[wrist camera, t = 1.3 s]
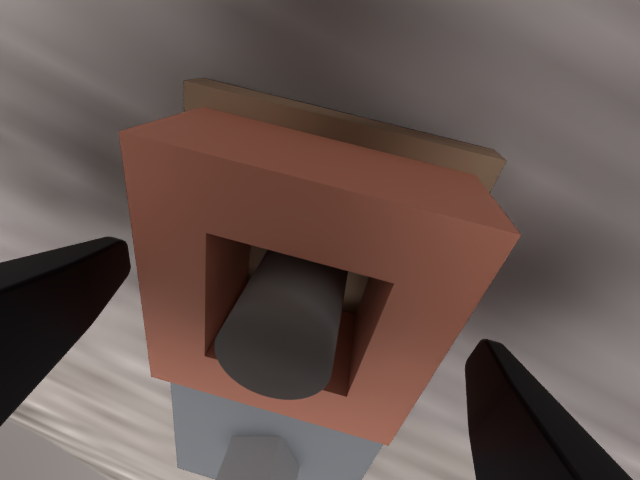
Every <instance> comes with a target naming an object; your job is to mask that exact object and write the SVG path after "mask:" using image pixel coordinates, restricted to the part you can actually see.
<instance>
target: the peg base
mask: <svg viewBox="0 0 640 480" xmlns="http://www.w3.org/2000/svg"><path fill="white" fill-rule="evenodd" d="M171 394H172V406H173V418H174V431H175V443H176V455H177V467H178V468H180V469H183V470H186V471H189V472H193V473H196V474H199V475H203V476H206V477H209V478H213V479H216V480H362V478H363V477H364V475H365V473H366V472H367V470H368V468H369V467H370V465H371V463H372V462H373V460H374V459H375V457H376V455H377V454H378V452H379V450H380V449H381V447H382V445H383V444H381V443H377V442H374V441H370V440H367V439H364V438H360V437H357V436H353V435H350V434H346V433H343V432H340V431H336V430H333V429H329V428H326V427H322V426H319V425H316V424H312V423H309V422H305V421H302V420H298V419H295V418H292V417H288V416H285V415H281V414H278V413H274V412H271V411H268V410H264V409H261V408H257V407H254V406H250V405H247V404H243V403H240V402H237V401H233V400H230V399H226V398H223V397H219V396H216V395H213V394H209V393H206V392H202V391H199V390H195V389H192V388H189V387H185V386H182V385H178V384H175V383H171Z"/></svg>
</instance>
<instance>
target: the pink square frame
mask: <svg viewBox="0 0 640 480" xmlns="http://www.w3.org/2000/svg"><path fill="white" fill-rule="evenodd" d="M119 138H120V145H121V153H122V160H123V168H124V176H125V183H126V191H127V198H128V206H129V213H130V221H131V228H132V236H133V243H134V251H135V258H136V266H137V273H138V281H139V288H140V296H141V303H142V311H143V318H144V326H145V333H146V341H147V348H148V356H149V363H150V371H151V377H154V378H158V379H161V380H165V381H168V382H171V383H175V384H178V385H182V386H185V387H189V388H192V389H195V390H199V391H202V392H206V393H209V394H213V395H216V396H219V397H223V398H226V399H230V400H233V401H237V402H240V403H243V404H247V405H250V406H254V407H257V408H261V409H264V410H268V411H271V412H274V413H278V414H281V415H285V416H288V417H292V418H295V419H298V420H302V421H305V422H309V423H312V424H316V425H319V426H322V427H326V428H329V429H333V430H336V431H340V432H343V433H346V434H350V435H353V436H357V437H360V438H364V439H367V440H370V441H374V442H377V443H381V444H384V445H388V446H389V444H390V443H391V441H392V440H393V438H394V436H395V435H396V433H397V432H398V430H399V429H400V427H401V425H402V424H403V422H404V421H405V419H406V417H407V416H408V414H409V413H410V411H411V409H412V408H413V406H414V405H415V403H416V402H417V400H418V398H419V397H420V395H421V394H422V392H423V390H424V389H425V387H426V386H427V384H428V382H429V381H430V379H431V378H432V376H433V374H434V373H435V371H436V370H437V368H438V367H439V365H440V363H441V362H442V360H443V359H444V357H445V355H446V354H447V352H448V351H449V349H450V347H451V346H452V344H453V343H454V341H455V340H456V338H457V336H458V335H459V333H460V332H461V330H462V328H463V327H464V325H465V324H466V322H467V320H468V319H469V317H470V316H471V314H472V313H473V311H474V309H475V308H476V306H477V305H478V303H479V301H480V300H481V298H482V297H483V295H484V293H485V292H486V290H487V289H488V287H489V285H490V284H491V282H492V281H493V279H494V278H495V276H496V274H497V273H498V271H499V270H500V268H501V266H502V265H503V263H504V262H505V260H506V258H507V257H508V255H509V254H510V252H511V251H512V249H513V247H514V246H515V244H516V243H517V241H518V239H519V238H520V236H521V234H520V232H519V231H518V230H517V229H516V227H515V226H514V225H513V223H512V222H511V221H510V219H509V218H508V217H507V215H506V214H505V213H504V211H503V210H502V209H501V208H500V206H499V205H498V204H497V202H496V201H495V200H494V198H493V197H492V196H491V194H490V193H489V192H488V190H487V189H486V188H485V187H484V185H483V184H482V183H481V181H480V180H479V179H478V177H477V176H476V175H473V174H469V173H465V172H461V171H457V170H453V169H449V168H445V167H441V166H437V165H433V164H429V163H425V162H421V161H417V160H413V159H409V158H405V157H401V156H397V155H393V154H389V153H385V152H381V151H377V150H373V149H369V148H365V147H361V146H357V145H353V144H349V143H345V142H341V141H337V140H333V139H329V138H325V137H321V136H317V135H313V134H309V133H305V132H301V131H297V130H293V129H289V128H285V127H281V126H277V125H273V124H269V123H265V122H261V121H257V120H253V119H249V118H245V117H241V116H237V115H233V114H229V113H225V112H221V111H217V110H213V109H209V108H205V107H200V108H197V109H193V110H190V111H187V112H183V113H180V114H176V115H173V116H169V117H166V118H163V119H159V120H156V121H152V122H149V123H145V124H142V125H139V126H135V127H132V128H128V129H125V130H121V131H119ZM251 245H253V246H256V247H260V248H264V249H268V250H271V251H275V252H279V253H283V254H286V255H290V256H294V257H297V258H301V259H305V260H309V261H312V262H316V263H320V264H323V265H327V266H331V267H335V268H338V269H342V270H346V271H350V272H353V273H357V274H361V275H364V276H368V277H369V279H368V282H367V284H366V287H365V290H364V293H363V295H362V298H361V301H360V304H359V306H358V309H357V312H356V315H355V314H351V313H348V312H344V311H342V313H341V319H340V325H339V331H338V337H337V343H336V350H335V356H334V362H333V368H332V374H331V378H330V380H329V382H328V384H327V385H326V387H325V388H324V389H323V390H322V391H320V392H319V393H317V394H315V395H313V396H311V397H307V398H303V399H297V400H282V399H275V398H270V397H266V396H263V395H260V394H257V393H255V392H252V391H250V390H248V389H246V388H245V387H243V386H241V385H240V384H238V383H237V382H236V381H234V380H233V379H232V378H231V377H230V376H229V375H228V374H227V373H226V372H225V371H224V369H223V368H222V367H221V365H220V364H219V362H218V360H217V357H216V354H215V346H214V345H215V339H216V337H217V335H218V333H219V331H220V329H221V328H222V326H223V324H224V323H225V321H226V319H227V318H228V316H229V314H230V313H231V311H232V309H233V308H234V306H235V304H236V302H237V301H238V299H239V297H240V296H241V294H242V292H243V291H244V289H245V287H246V286H247V278H248V268H249V258H250V249H251Z"/></svg>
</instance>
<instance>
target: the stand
mask: <svg viewBox="0 0 640 480" xmlns="http://www.w3.org/2000/svg"><path fill="white" fill-rule="evenodd" d="M183 86H184V112H187V111H190V110H193V109H197V108H200V107H205V108H209V109H213V110H217V111H221V112H225V113H229V114H233V115H237V116H241V117H245V118H249V119H253V120H257V121H261V122H265V123H269V124H273V125H277V126H281V127H285V128H289V129H293V130H297V131H301V132H305V133H309V134H313V135H317V136H321V137H325V138H329V139H333V140H337V141H341V142H345V143H349V144H353V145H357V146H361V147H365V148H369V149H373V150H377V151H381V152H385V153H389V154H393V155H397V156H401V157H405V158H409V159H413V160H417V161H421V162H425V163H429V164H433V165H437V166H441V167H445V168H449V169H453V170H457V171H461V172H465V173H469V174H473V175H476V176H477V177H478V179H479V180H480V181H481V183H482V184H483V185H484V187H485V188H486V189H487V190H488V192H489V193H490V191H491V190H492V188H493V186H494V184H495V182H496V180H497V178H498V176H499V174H500V172H501V171H502V169H503V167H504V165H505V163H506V161H507V160H505V159H504V158H503V157H502V156H501V155H500V154H498V153H497V152H496V151H495V150H493V149H489V148H485V147H481V146H477V145H473V144H469V143H465V142H461V141H457V140H453V139H449V138H444V137H440V136H436V135H432V134H428V133H424V132H420V131H416V130H412V129H408V128H404V127H400V126H396V125H392V124H388V123H384V122H380V121H375V120H371V119H367V118H363V117H359V116H355V115H351V114H347V113H343V112H339V111H335V110H331V109H327V108H323V107H319V106H315V105H311V104H307V103H302V102H298V101H294V100H290V99H286V98H282V97H278V96H274V95H270V94H266V93H262V92H258V91H254V90H250V89H246V88H242V87H238V86H233V85H229V84H225V83H221V82H217V81H213V80H209V79H205V78H199V79H192V80H184V81H183ZM368 279H369V277H368V276H364V275H361V274H357V273H353V272H350V271H346V270H342V269H338V268H335V267H331V266H327V265H323V264H320V263H316V262H312V261H309V260H305V259H301V258H297V257H294V256H290V255H286V254H283V253H279V252H275V251H271V250H268V249H264V248H260V247H256V246H253V245H251V249H250V258H249V268H248V278H247V286H246V287H245V289H244V291H243V292H242V294H241V296H240V297H239V299H238V301H237V302H236V304H235V306H234V308H233V309H232V311H231V313H230V314H229V316H228V318H227V319H226V321H225V323H224V324H223V326H222V328H221V329H220V331H219V333H218V335H217V337H216V339H215V345H214V346H215V354H216V357H217V360H218V362H219V364H220V365H221V367H222V368H223V369H224V371H225V372H226V373H227V374H228V375H229V376H230V377H231V378H232V379H233V380H234V381H236V382H237V383H238V384H240V385H241V386H243V387H245V388H246V389H248V390H250V391H252V392H255V393H257V394H260V395H263V396H266V397H270V398H275V399H282V400H297V399H303V398H307V397H311V396H313V395H315V394H317V393H319V392H320V391H322V390H323V389H324V388H325V387H326V385H327V384H328V382H329V380H330V378H331V374H332V368H333V362H334V356H335V350H336V343H337V337H338V331H339V325H340V319H341V313H342V311H344V312H348V313H351V314H355V315H356V312H357V309H358V306H359V304H360V301H361V298H362V295H363V293H364V290H365V287H366V284H367V282H368Z"/></svg>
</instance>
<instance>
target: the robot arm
mask: <svg viewBox="0 0 640 480" xmlns="http://www.w3.org/2000/svg"><path fill="white" fill-rule="evenodd" d="M130 268H131V265H130V258H129V251H128V245H127V243H126V242H125V241H124V240H121V239H118V238H114V237H103V238H99V239H95V240H91V241H87V242H83V243H79V244H75V245H71V246H67V247H62V248H58V249H54V250H50V251H46V252H42V253H38V254H34V255H30V256H26V257H22V258H18V259H14V260H10V261H6V262H1V263H0V426H1V425H2V424H3V423H4V422H5V421H6V420H7V419H8V418H9V416H10V415H11V414H12V413H13V412H14V411H15V410H16V409H17V408H18V406H19V405H20V404H21V403H22V402H23V401H24V400H25V399H26V397H27V396H28V395H29V394H30V393H31V392H32V391H33V390H34V389H35V387H36V386H37V385H38V384H39V383H40V382H41V381H42V380H43V379H44V377H45V376H46V375H47V374H48V373H49V372H50V371H51V370H52V369H53V367H54V366H55V365H56V364H57V363H58V362H59V361H60V360H61V359H62V357H63V356H64V355H65V354H66V353H67V352H68V351H69V350H70V349H71V347H72V346H73V345H74V344H75V343H76V342H77V341H78V340H79V339H80V337H81V336H82V335H83V334H84V333H85V332H86V331H87V329H88V328H89V327H90V326H91V325H92V323H93V322H94V321H95V320H96V318H97V317H98V316H99V314H100V313H101V312H102V310H103V309H104V308H105V306H106V305H107V304H108V302H109V301H110V299H111V298H112V297H113V295H114V294H115V293H116V291H117V290H118V289H119V287H120V286H121V284H122V283H123V282H124V280H125V279H126V278H127V276H128V274H129V272H130ZM465 378H466V396H467V414H468V428H469V437H470V444H471V450H472V456H473V463H474V469H475V475H476V480H633V479H632V478H631V477H630V476H629V475H628V474H627V473H626V472H625V471H624V470H623V469H622V468H621V467H620V466H619V465H618V464H617V463H616V462H615V461H614V460H613V459H612V458H611V456H610V455H609V454H608V453H607V452H606V451H605V450H604V449H603V448H602V447H601V446H600V445H599V444H598V443H597V442H596V441H595V440H594V439H593V438H592V437H591V436H590V435H589V434H588V433H587V431H586V430H585V429H584V428H583V427H582V426H581V425H580V424H579V423H578V422H577V421H576V420H575V419H574V418H573V417H572V416H571V415H570V414H569V413H568V412H567V411H566V410H565V409H564V408H563V406H562V405H561V404H560V403H559V402H558V401H557V400H556V399H555V398H554V397H553V396H552V395H551V394H550V393H549V392H548V391H547V390H546V389H545V388H544V387H543V386H542V385H541V384H540V383H539V382H538V380H537V379H536V378H535V377H534V376H533V375H532V374H531V373H530V372H529V371H528V370H527V369H526V368H525V367H524V366H523V365H522V364H521V363H520V362H519V361H518V360H517V359H516V358H515V357H514V355H513V354H512V353H511V352H510V351H509V350H508V349H507V348H506V347H505V346H504V345H503V344H501V343H499V342H496V341H492V340H489V339H482V340H481V341H480V342H479V343H478V345H477V346H476V347H475V349H474V350H473V352H472V353H471V355H470V356H469V358H468V359H467V361H466V365H465Z"/></svg>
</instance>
